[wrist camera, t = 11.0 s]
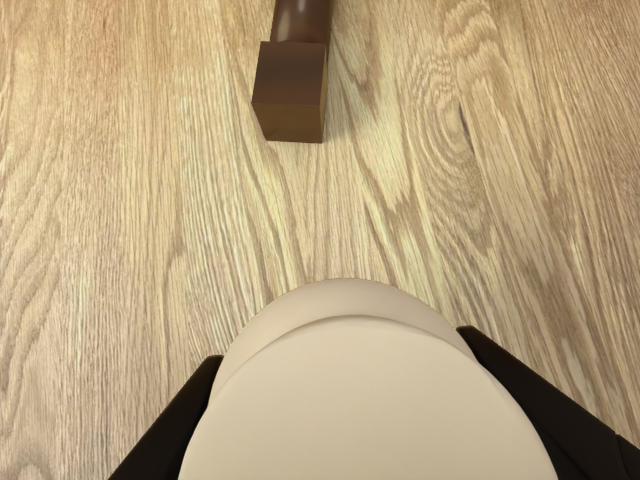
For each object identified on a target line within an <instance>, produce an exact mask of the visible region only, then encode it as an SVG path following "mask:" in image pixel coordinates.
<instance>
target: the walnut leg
mask: <svg viewBox="0 0 640 480" xmlns="http://www.w3.org/2000/svg"><path fill="white" fill-rule="evenodd" d="M332 11H333V0H276V2H275V9H274V16H273V22H272V29H271V36H270V42H266V41H261V44H260V51H259V57H258V64H257V70H256V77H255V83H254V90H253V96H252V103H251V104H252V106H253V109H254V111H255V114H256V116H257V119H258V121H259V124H260V126H261V129H262V131H263V134H264V137H265V139H266V140H272V141H290V142H307V143H322V140H323V130H324V119H325V109H326V98H327V62H328V52H329V42H330V31H331V21H332Z"/></svg>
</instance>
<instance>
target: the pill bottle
mask: <svg viewBox="0 0 640 480" xmlns="http://www.w3.org/2000/svg"><path fill="white" fill-rule="evenodd" d="M178 480H558V478H557V475H556V472H555V469H554V467H553V465H552V462H551V460H550V458H549V456H548V454H547V451H546V449H545V447H544V445H543V443H542V441H541V439H540V437H539V435H538V433H537V432H536V430H535V428H534V427H533V425H532V423H531V422H530V420H529V419H528V417H527V416H526V414H525V413H524V411H523V410H522V408H521V407H520V406H519V405H518V403H517V402H516V401H515V400H514V398H513V397H512V396H511V395H510V394H509V392H508V391H507V390H506V389H505V388H504V387H503V386H502V384H501V383H500V382H499V381H498V380H497V379H496V378H495V377H494V376H493V375H492V374H491V373H490V372H489V371H487V370H486V369H485V368H484V367H483V366H482V365H481V364H479V363H478V361H477V360H476V358H475V356H474V354H473V353H472V351H471V350H470V348H469V347H468V345H467V344H466V342H465V341H464V340H463V338H462V337H461V336H460V335H459V334H458V332H457V331H456V330H455V329H454V328H453V327H452V326H451V325H450V324H449V323H448V322H447V321H446V320H445V319H444V318H443V317H442V316H441V315H440V314H439V313H438V312H436V311H435V310H434V309H433V308H431V307H430V306H429V305H427V304H426V303H424V302H423V301H421V300H420V299H418V298H416V297H414V296H413V295H411V294H409V293H407V292H405V291H403V290H401V289H398V288H396V287H393V286H391V285H388V284H384V283H381V282H377V281H372V280H366V279H357V278H335V279H327V280H322V281H317V282H313V283H310V284H306V285H303V286H301V287H298V288H296V289H294V290H291V291H289V292H287V293H285V294H284V295H282V296H280V297H278V298H277V299H275V300H274V301H272V302H271V303H269V304H268V305H267V306H265V307H264V308H263V309H262V310H260V311H259V312H258V313H257V314H256V315H255V316H254V317H253V318H252V319H251V320H250V321H249V322H248V323H247V324H246V325H245V327H244V328H243V329H242V330H241V331H240V333H239V334H238V336H237V337H236V338H235V340H234V341H233V343H232V344H231V346H230V348H229V349H228V351H227V353H226V355H225V357H224V359H223V361H222V363H221V365H220V367H219V370H218V372H217V375H216V377H215V380H214V383H213V387H212V390H211V394H210V398H209V403H208V408H207V409H206V411H205V413H204V414H203V416H202V418H201V419H200V421H199V423H198V425H197V427H196V429H195V431H194V434H193V436H192V438H191V440H190V442H189V445H188V447H187V450H186V453H185V455H184V459H183V463H182V466H181V470H180V473H179V477H178Z"/></svg>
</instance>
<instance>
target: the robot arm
mask: <svg viewBox="0 0 640 480" xmlns="http://www.w3.org/2000/svg"><path fill="white" fill-rule="evenodd" d="M456 331H457V332H458V334H459V335H460V336H461V337H462V338H463V340H464V341H465V342H466V344H467V345H468V347H469V348H470V350H471V351H472V353H473V354H474V356H475V358H476V360H477V361H478V363H479V364H481V365H482V366H483V367H484V368H485V369H486V370H487V371H489V372H490V373H491V374H492V375H493V376H494V377H495V378H496V379H497V380H498V381H499V382H500V383H501V384H502V386H503V387H504V388H505V389H506V390H507V391H508V392H509V394H510V395H511V396H512V397H513V398H514V400H515V401H516V402H517V403H518V405H519V406H520V407H521V408H522V410H523V411H524V413H525V414H526V416H527V417H528V419H529V420H530V422H531V423H532V425H533V427H534V428H535V430H536V432H537V433H538V435H539V437H540V439H541V441H542V443H543V445H544V447H545V449H546V451H547V454H548V456H549V458H550V460H551V462H552V465H553V467H554V469H555V472H556V475H557V478H558V480H640V450H639V449H638V448H637V447H635V446H634V445H633V444H631V443H630V442H629V441H627V440H626V439H625V438H623V437H622V436H620V435H618V434H616V433H615V431H614V430H612V429H611V428H610V427H608V426H607V425H605V424H604V423H603V422H601V421H600V420H599V419H597V418H596V417H595V416H593V415H592V414H591V413H589V412H588V411H587V410H585V409H584V408H583V407H581V406H580V405H579V404H577V403H576V402H575V401H573V400H572V399H571V398H569V397H568V396H566V395H565V394H564V393H562V392H561V391H560V390H558V389H557V388H556V387H554V386H553V385H552V384H550V383H549V382H548V381H546V380H545V379H544V378H542V377H541V376H540V375H538V374H537V373H536V372H534V371H533V370H532V369H530V368H529V367H527V366H526V365H525V364H523V363H522V362H521V361H519V360H518V359H517V358H515V357H514V356H513V355H511V354H510V353H509V352H507V351H506V350H505V349H503V348H502V347H501V346H499V345H498V344H497V343H495V342H494V341H493V340H491V339H490V338H488V337H487V336H486V335H484V334H483V333H482V332H480V331H479V330H478V329H476V328H475V327H473V326H471V325H468V326H459V327H457V328H456ZM223 359H224V356H223V355H213V356H208V357H207V358H206V359H205V360H204V361H203V362H202V364H201V365H200V366H199V367H198V369H197V370H196V371H195V372H194V374H193V375H192V376H191V377H190V379H189V380H188V381H187V382H186V383H185V385H184V386H183V387H182V388H181V390H180V391H179V392H178V393H177V395H176V396H175V397H174V398H173V400H172V401H171V402H170V403H169V405H168V406H167V407H166V408H165V409H164V411H163V412H162V413H161V414H160V416H159V417H158V418H157V419H156V421H155V422H154V423H153V424H152V426H151V427H150V428H149V429H148V431H147V432H146V433H145V434H144V435H143V437H142V438H141V439H140V440H139V442H138V443H137V444H136V445H135V447H134V448H133V449H132V450H131V452H130V453H129V454H128V455H127V456H126V458H125V459H124V460H123V461H122V463H121V464H120V465H119V466H118V468H117V469H116V470H115V471H114V473H113V474H112V475H111V476H110V478H109V479H108V480H178V477H179V473H180V470H181V466H182V463H183V459H184V455H185V453H186V450H187V447H188V445H189V442H190V440H191V438H192V436H193V434H194V431H195V429H196V427H197V425H198V423H199V421H200V419H201V418H202V416H203V414H204V413H205V411H206V409H207V408H208V403H209V398H210V394H211V390H212V387H213V383H214V380H215V377H216V375H217V372H218V370H219V367H220V365H221V363H222V361H223Z"/></svg>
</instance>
